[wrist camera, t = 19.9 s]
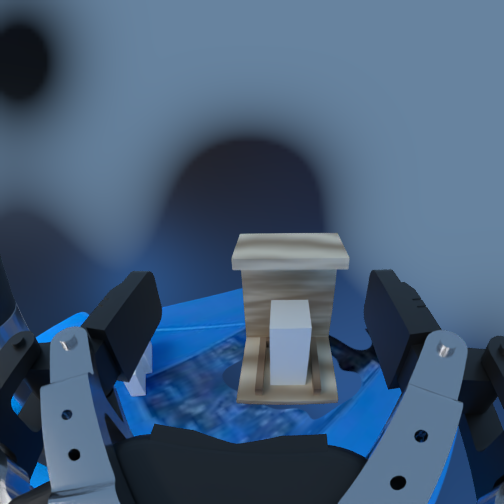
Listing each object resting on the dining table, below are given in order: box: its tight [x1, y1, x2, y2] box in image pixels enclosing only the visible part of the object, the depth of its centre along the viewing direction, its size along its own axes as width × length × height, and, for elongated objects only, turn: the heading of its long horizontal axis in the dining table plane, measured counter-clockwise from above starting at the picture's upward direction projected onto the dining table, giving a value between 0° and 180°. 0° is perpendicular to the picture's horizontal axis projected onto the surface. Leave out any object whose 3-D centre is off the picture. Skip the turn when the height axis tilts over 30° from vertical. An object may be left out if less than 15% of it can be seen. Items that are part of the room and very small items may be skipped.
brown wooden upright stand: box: [232, 233, 349, 405], centre depth 38 cm, size 15×14×19 cm
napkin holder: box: [124, 341, 152, 396], centre depth 40 cm, size 15×11×6 cm
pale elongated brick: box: [270, 300, 312, 385], centre depth 38 cm, size 6×5×11 cm
